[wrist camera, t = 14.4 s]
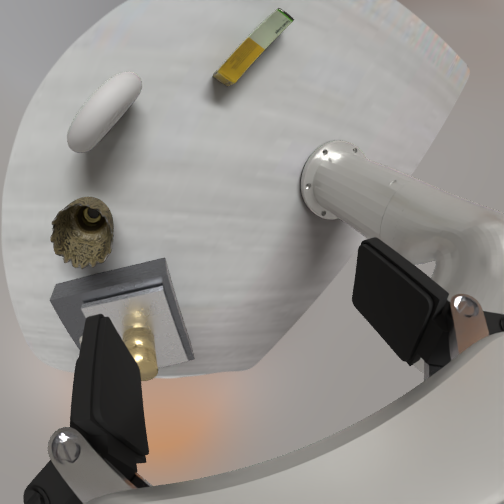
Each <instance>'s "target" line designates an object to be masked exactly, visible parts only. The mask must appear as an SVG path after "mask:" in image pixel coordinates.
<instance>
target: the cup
mask: <svg viewBox="0 0 504 504" xmlns="http://www.w3.org/2000/svg"><path fill="white" fill-rule="evenodd" d="M89 208H91V209H95V210H98V211H99V216H98V217H97V218H91V217H89V215H88V209H89ZM52 225H54V226H53V234H52V235H51V242H53V248H54V251H55V254H56V255H59V256H62V257H64V259H63V260H64V263H68V262H69V261H70V260H71V263H72V266H73V267H75V268H76V267H79V266H80V267H81V269H83V268H85V267H86V266H88V265H89V264H90V265H91V267H92V268H93V267H94V266H95V265H96V263H103V262H104V261H105V260H106V258H107V257H108V255H109V254H110V253H111V250H112V242H113V218H112V214H111V212H110V210H109V208H108V207H107V205H106V204H105V203H104V202H102V201H101V200H99V199H97V198H94V197H83V198H79V199H77V200H75V201H73V202H72V203H70V204H69V205H68V206H66V207H65V208H64V209H62V210H61V211H60V212H59V213H58V214H57V216H56V217H55V218H54V220H53V221H52Z"/></svg>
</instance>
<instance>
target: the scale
mask: <svg viewBox="0 0 504 504" xmlns="http://www.w3.org/2000/svg"><path fill="white" fill-rule="evenodd" d="M159 286H163V289H164V292H165V295H166V298H167V301H168V304H169V307H170V310H171V313H172V316H173V319H174V322H175V325H176V328H177V330H178V333H179V336H180V339H181V341H182V344H183V347H184V349H185V352H186V355H187V358H188V361H189V360H193V359H194V355H193V350H192V346H191V342H190V339H189V336H188V333H187V330H186V327H185V324H184V321H183V318H182V315H181V311H180V308H179V305H178V302H177V298H176V295H175V291H174V288H173V285H172V281H171V277H170V274H169V270H168V267H167V263H166V259H165V258H162V259H157V260H153V261H149V262H145V263H141V264H136V265H132V266H128V267H124V268H120V269H115V270H111V271H107V272H103V273H99V274H95V275H91V276H87V277H83V278H79V279H75V280H71V281H67V282H63V283H59V284H56V286H55V288H54V291H53V293H52V296H51V298H50V302H51V304H52V305H53V307H54V309H55V311H56V313H57V314H58V316H59V318H60V320H61V321H62V323H63V325H64V326H65V328H66V329H67V331H68V333H69V334H70V336H71V337H72V339H73V341H74V342H75V344H76V345H77V347H78V348H79V350H80V348H81V342H82V336H83V330H84V325H85V320H86V317H85V315H84V314H83V312H82V310H81V306H82V304H84V303H89V302H93V301H98V300H102V299H107V298H111V297H116V296H120V295H124V294H129V293H133V292H137V291H142V290H146V289H150V288H155V287H159Z"/></svg>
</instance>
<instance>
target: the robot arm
mask: <svg viewBox="0 0 504 504" xmlns="http://www.w3.org/2000/svg"><path fill="white" fill-rule="evenodd" d="M301 192H302V196H303V199H304V202H305V203H306V205H307V207H308V208H309V209H310V210H311V211H312V212H313V213H315V214H316V215H317V216H319V217H321V218H324V219H328V220H335V219H341V220H342V221H344V222H345V223H346V224H348V225H349V226H351V227H352V228H354V229H355V230H356V231H358V232H359V233H360V234H362V235H363V236H365V237H366V238H367V240H364V241H362V243H361V246H359V249H358V257H357V266H356V274H355V282H354V289H353V295H352V302H353V304H354V306H355V307H356V309H357V310H358V311H359V312H360V313H361V314H362V315H363V316H364V318H365V319H366V320H367V321H368V322H369V323H370V324H371V325H372V326H373V328H374V329H375V330H376V331H377V332H378V333H379V334H380V336H381V337H382V338H383V339H384V340H385V341H386V342H387V344H388V345H389V346H390V347H391V348H392V349H393V351H394V352H395V353H396V354H397V355H398V356H399V358H400V359H401V360H403V361H406V362H407V363H408V364H409V366H411V365H414V366H415V367H416V368H417V369H418V370H419V371H421V372H422V373H424V382H422V383H421V384H420V385H418V386H417V387H415V388H414V389H412V390H411V391H409V392H408V393H406V394H405V395H403V396H402V397H400V398H398V399H397V400H395V401H394V402H392V403H390V404H389V405H387V406H385V407H384V408H382V409H380V410H379V411H377V412H375V413H374V414H372V415H370V416H368V417H366V418H364V419H363V420H361V421H359V422H357V423H355V424H353V425H351V426H349V427H347V428H345V429H343V430H341V431H339V432H337V433H335V434H333V435H331V436H329V437H327V438H324V439H322V440H320V441H317V442H315V443H313V444H310V445H308V446H306V447H303V448H301V449H298V450H296V451H293V452H290V453H288V454H285V455H282V456H279V457H277V458H274V459H271V460H268V461H265V462H262V463H258V464H255V465H252V466H249V467H245V468H242V469H238V470H235V471H231V472H226V473H223V474H218V475H214V476H209V477H204V478H200V479H195V480H190V481H185V482H179V483H173V484H166V485H158V486H152V485H151V484H150V483H148V482H147V481H146V480H145V479H144V478H143V477H141V476H140V475H139V474H138V473H137V465H136V463H146V457H145V455H148V454H149V448H148V442H147V434H146V427H145V419H144V410H143V399H142V388H141V374H140V369H139V366H138V364H137V363H136V361H135V359H134V358H133V356H132V355H131V353H130V352H129V350H128V348H127V347H126V345H125V344H124V342H123V340H122V339H121V337H120V335H119V334H118V332H117V330H116V328H115V327H114V325H113V323H112V321H111V320H110V318H109V317H104V315H103V314H97V315H93V316H89V317H87V318H86V320H85V325H84V330H83V336H82V342H81V348H80V354H79V358H78V359H77V361H76V366H75V374H74V382H73V392H72V402H71V416H70V427H63V428H60V429H58V430H57V431H55V432H54V433H53V435H52V436H51V437H50V440H49V442H48V454H49V457H50V459H51V460H50V461H49V462H48V463H47V464H46V466H45V467H44V468H43V469H42V470H41V472H39V474H38V475H37V476H36V477H35V478H34V479H33V480H32V482H31V483H30V484H29V485H28V486H27V488H26V490H25V492H24V504H504V213H502V212H500V211H497V210H494V209H491V208H488V207H486V206H482V205H480V204H477V203H474V202H471V201H469V200H466V199H463V198H461V197H457V196H455V195H453V194H451V193H448V192H446V191H444V190H442V189H439V188H437V187H435V186H432V185H430V184H428V183H426V182H423V181H421V180H419V179H416V178H414V177H412V176H409V175H407V174H404V173H402V172H400V171H397V170H395V169H392V168H390V167H387V166H384V165H382V164H379V163H376V162H374V161H371V160H368V159H367V158H366V156H365V155H364V153H363V152H362V150H361V149H360V148H359V147H357V146H356V145H354V144H352V143H349V142H346V141H341V140H339V141H331V142H327V143H326V144H324V145H322V146H320V147H319V148H318V149H316V150H315V151H314V152H313V154H312V155H311V156H310V157H309V159H308V161H307V162H306V164H305V167H304V169H303V172H302V177H301ZM432 261H436V266H435V269H434V272H433V274H432V277H431V278H430V277H428V276H427V275H426V274H425V273H423V272H422V271H421V270H420V269H418V268H417V267H416V266H415V265H416V264H424V263H428V262H432Z"/></svg>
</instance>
